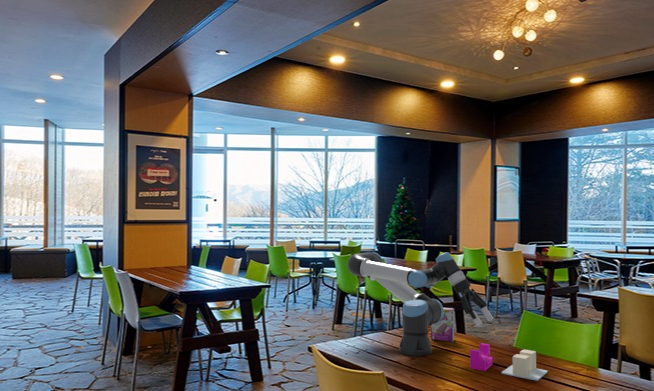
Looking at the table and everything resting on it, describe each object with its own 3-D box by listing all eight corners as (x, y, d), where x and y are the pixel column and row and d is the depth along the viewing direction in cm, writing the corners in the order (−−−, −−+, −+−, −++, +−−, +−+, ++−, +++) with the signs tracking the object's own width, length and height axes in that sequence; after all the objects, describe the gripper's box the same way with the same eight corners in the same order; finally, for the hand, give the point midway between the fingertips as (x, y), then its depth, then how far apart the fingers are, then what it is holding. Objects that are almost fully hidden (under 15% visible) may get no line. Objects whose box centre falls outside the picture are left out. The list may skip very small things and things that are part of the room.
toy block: (485, 371, 205) (485, 352, 205) (470, 368, 208) (470, 350, 208) (495, 362, 217) (495, 345, 217) (481, 360, 220) (481, 343, 221)
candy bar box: (430, 340, 256) (430, 308, 256) (433, 337, 260) (432, 306, 261) (452, 342, 251) (452, 309, 252) (454, 340, 256) (454, 308, 256)
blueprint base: (501, 373, 201) (501, 354, 201) (513, 365, 212) (512, 347, 212) (537, 380, 192) (537, 360, 192) (547, 372, 203) (547, 353, 203)
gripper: (454, 280, 223) (481, 323, 215) (476, 275, 243) (501, 314, 234) (441, 289, 227) (468, 331, 218) (464, 283, 246) (489, 322, 238)
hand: (485, 322), depth 226 cm, fingers open, 13 cm apart
